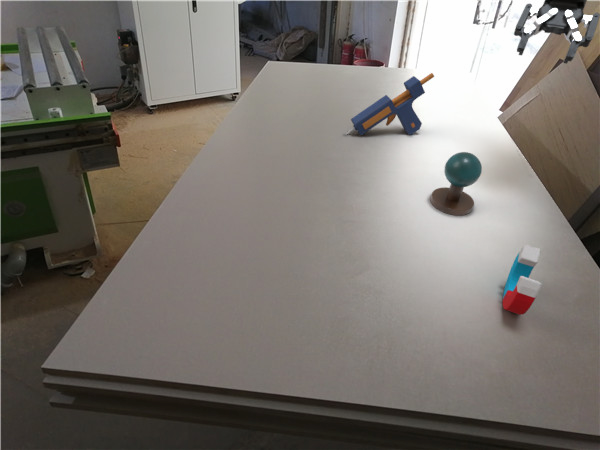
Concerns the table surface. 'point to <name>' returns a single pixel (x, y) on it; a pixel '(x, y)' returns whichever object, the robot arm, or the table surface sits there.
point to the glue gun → (393, 109)
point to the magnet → (521, 282)
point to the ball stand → (457, 184)
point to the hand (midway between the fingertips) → (543, 57)
